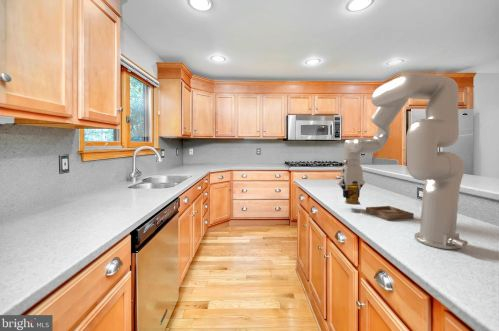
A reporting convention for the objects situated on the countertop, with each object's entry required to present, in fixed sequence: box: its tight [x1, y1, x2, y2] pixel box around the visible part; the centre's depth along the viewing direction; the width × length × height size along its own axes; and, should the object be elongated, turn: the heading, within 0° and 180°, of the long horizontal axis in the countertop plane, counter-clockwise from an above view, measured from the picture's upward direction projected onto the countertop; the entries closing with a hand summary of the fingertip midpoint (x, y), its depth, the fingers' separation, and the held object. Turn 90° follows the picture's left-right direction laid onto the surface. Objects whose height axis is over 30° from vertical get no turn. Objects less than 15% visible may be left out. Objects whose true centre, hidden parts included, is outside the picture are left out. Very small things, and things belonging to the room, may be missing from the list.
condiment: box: [344, 181, 362, 206], centre depth 119 cm, size 7×8×12 cm
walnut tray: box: [365, 205, 415, 221], centre depth 111 cm, size 14×14×2 cm
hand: (351, 196), depth 120 cm, fingers closed on condiment, 6 cm apart
